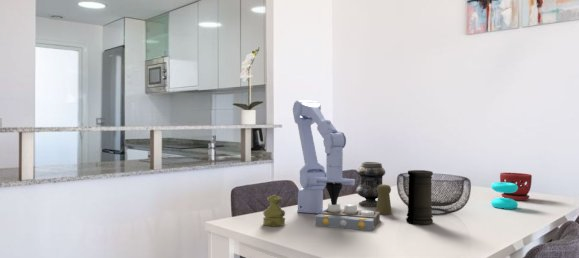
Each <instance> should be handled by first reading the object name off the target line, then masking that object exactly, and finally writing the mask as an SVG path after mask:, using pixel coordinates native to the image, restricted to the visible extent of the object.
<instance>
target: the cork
mask: <svg viewBox="0 0 579 258" xmlns="http://www.w3.org/2000/svg"><path fill="white" fill-rule="evenodd" d="M391 191H392V188H391V186H390V185H388V184H382V185H379V186H378V187H377V192H378V198H377V199H376V201H377V206H375V207H376V208H375V212H380V215H381V216H390V215H392V214H393V213H392V206H391V197H390V193H391Z"/></svg>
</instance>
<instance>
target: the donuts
mask: <svg viewBox="0 0 579 258" xmlns="http://www.w3.org/2000/svg"><path fill="white" fill-rule="evenodd" d="M505 182H506V181H505ZM505 182H500V181H498V182H492V183H491V185H490V186H491V189H492V190H493V191H494V192H497V193H501V194H502V193H513V192H516V191H517V190H518V186H517V185H516V184H517V183H516V184H513V183H505ZM490 204H491V206H492V207H494V208H496V207H497V208H496V209H501V208H504V209H503V210H514V209H516V208H518V206H519V205H518V201H516V200H513V199H509V198H503V197H496V198H493V199H492V200H491V202H490Z"/></svg>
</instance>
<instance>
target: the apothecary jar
mask: <svg viewBox="0 0 579 258" xmlns="http://www.w3.org/2000/svg"><path fill="white" fill-rule="evenodd" d="M382 164H383V163H382V162H379V161H361V164H360V166H359V167H358V168H357V170H356V172H357V174H358V175H359V185H358V186H357V188H356V189H355V191H356V195H358V196H360V197H362V198H363V199H365V200H362V201H360V202H359V203H358V205H360V206H364V207H377V199H378V192H377V187H378V186H379V185H383V176H385V174H386V170H385V169H384V167H383V165H382Z"/></svg>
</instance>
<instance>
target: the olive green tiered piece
mask: <svg viewBox="0 0 579 258" xmlns="http://www.w3.org/2000/svg"><path fill="white" fill-rule="evenodd" d="M266 199H267V201H268V202H269V204H270V205H269V206H268V207H267V208H266V209H265V210H263V212H262V213H263V214H262V215H263V216H264V217H263V219H262V220H263V225H264V226H266V227H275V228H276V227H282V226H284V225H285V224H286V218H285V215H286V211H285V210H283V209H282V207H281V206H279V203H280V202H281V201H282V199H283V198H282V197H281V196H279V195H277V194H271V195H270V196H268V197H266Z"/></svg>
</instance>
